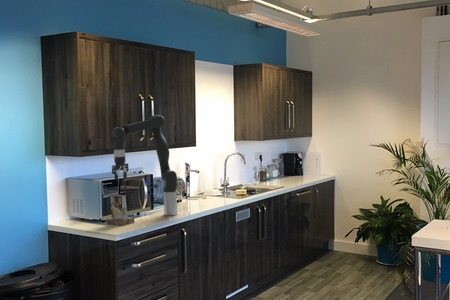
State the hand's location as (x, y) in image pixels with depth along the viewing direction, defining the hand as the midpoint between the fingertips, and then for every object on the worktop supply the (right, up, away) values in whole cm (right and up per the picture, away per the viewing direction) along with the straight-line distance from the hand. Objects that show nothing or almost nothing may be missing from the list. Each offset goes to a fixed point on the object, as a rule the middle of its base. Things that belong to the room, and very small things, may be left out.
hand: (120, 179), depth 343 cm
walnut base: (+1, -31, -4) cm, 31 cm away
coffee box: (0, -27, -5) cm, 27 cm away
